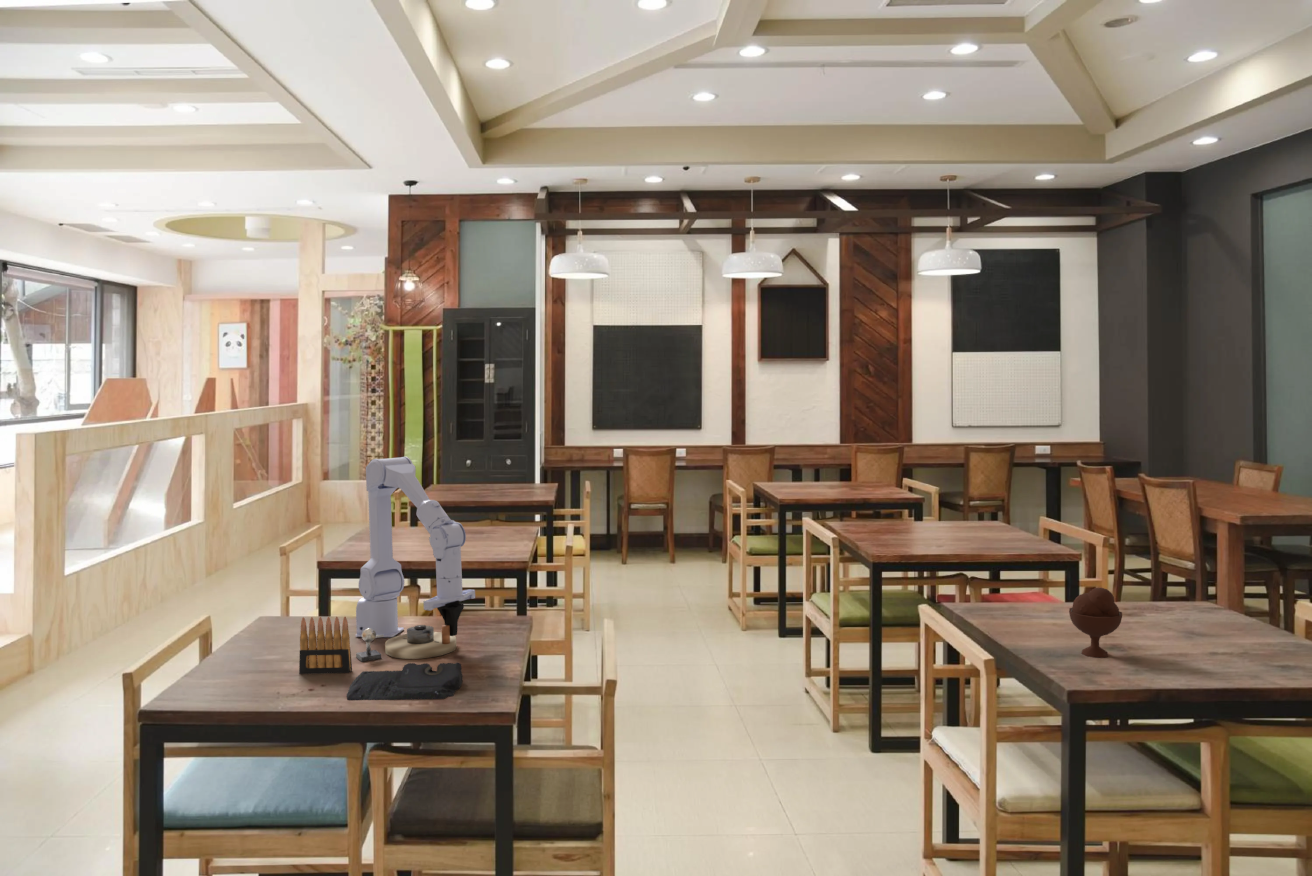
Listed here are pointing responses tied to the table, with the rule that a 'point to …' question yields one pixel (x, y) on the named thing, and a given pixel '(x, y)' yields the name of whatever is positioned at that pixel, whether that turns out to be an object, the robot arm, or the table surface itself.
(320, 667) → the ammunition clip
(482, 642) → the table surface
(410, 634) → the iron cover
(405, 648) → the turntable
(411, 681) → the black folded garment
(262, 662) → the table surface
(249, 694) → the table surface
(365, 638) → the grey and clear piece
